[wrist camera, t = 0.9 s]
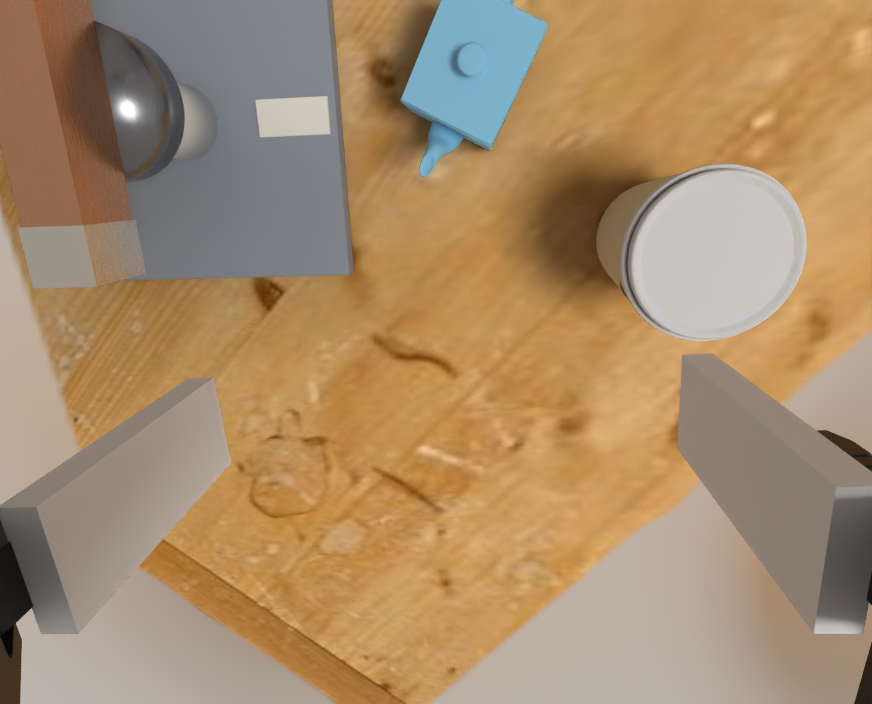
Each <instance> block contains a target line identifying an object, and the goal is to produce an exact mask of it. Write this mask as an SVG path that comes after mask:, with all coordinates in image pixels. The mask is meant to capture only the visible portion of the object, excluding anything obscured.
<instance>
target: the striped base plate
mask: <svg viewBox="0 0 872 704" xmlns="http://www.w3.org/2000/svg"><path fill="white" fill-rule="evenodd" d="M91 4H92V10H93V15H94V20H95V21H97V22H99V23H102V24H104V25H106V26H109V27H111V28H114V29H116V30H118V31H121V32H123V33H125V34H128V35H130V36H132V37H134V38H136V39H138V40H140V41H142V42H143V43H145V44H146V45H148V46H149V47H150V48H151V49H153V50H154V51H155V52H156V53H157V54H158V55H159V56H160V57H161V58H162V59H163V61H164V62H165V63H166V65H167V66H168V67H169V69H170V71H171V72H172V74H173V76H174V78H175V80H176V82H177V84H178V87H179V90H180V93H181V95H182V100H183V105H184V114H185V125H184V132H183V137H182V141H181V144H180V146H179V149H178V151H177V153H176V155H175V156H174V158H173V159H172V161H171V162H170V163H169V164H168V165H167V166H166V167H165V168H164V169H163V170H162V171H161V172H159V173H157V174H156V175H154V176H152V177H150V178H147V179H144V180H140V181H133V182H126V187H127V192H128V197H129V202H130V208H131V213H132V218H133V220H136V224H137V229H138V235H139V240H140V245H141V250H142V256H143V261H144V266H145V271H146V274H143V275H140V276H136V277H132V278H128V279H125V280H158V279H200V278H242V277H284V276H326V275H350V274H352V273H353V272H354V267H353V255H352V242H351V229H350V217H349V204H348V192H347V179H346V166H345V154H344V141H343V129H342V116H341V103H340V91H339V78H338V66H337V53H336V40H335V28H334V15H333V3H332V0H91Z"/></svg>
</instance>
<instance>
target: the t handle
mask: <svg viewBox="0 0 872 704" xmlns="http://www.w3.org/2000/svg"><path fill="white" fill-rule="evenodd" d="M184 125H185V114H184V105H183V100H182V95H181V93H180V90H179V87H178V84H177V82H176V80H175V78H174V76H173V74H172V72H171V71H170V69H169V67H168V66H167V65H166V63H165V62H164V61H163V59H162V58H161V57H160V56H159V55H158V54H157V53H156V52H155V51H154V50H153V49H151V48H150V47H149V46H148V45H146V44H145V43H143V42H142V41H140V40H138V39H136V38H134V37H132V36H130V35H128V34H125V33H123V32H121V31H118V30H116V29H114V28H111V27H109V26H106V25H104V24H102V23H99V22H97V21H95V20H94V15H93V10H92V4H91V0H0V145H1V149H2V153H3V157H4V161H5V165H6V169H7V173H8V177H9V181H10V185H11V189H12V193H13V197H14V201H15V205H16V209H17V213H18V217H19V221H20V225H21V227H18V231H19V235H20V239H21V243H22V247H23V251H24V255H25V259H26V263H27V267H28V271H29V275H30V278H31V282H32V286H33V288H72V287H98V286H102V285H106V284H110V283H113V282H117V281H121V280H125V279H128V278H132V277H136V276H140V275H143V274H146V271H145V266H144V261H143V256H142V250H141V245H140V240H139V235H138V229H137V224H136V220H133V218H132V213H131V208H130V202H129V197H128V192H127V187H126V182H133V181H140V180H144V179H147V178H150V177H152V176H154V175H156V174H157V173H159V172H161V171H162V170H163V169H164V168H165V167H166V166H167V165H168V164H169V163H170V162H171V161H172V159H173V158H174V156H175V155H176V153H177V151H178V149H179V146H180V144H181V141H182V137H183V132H184Z"/></svg>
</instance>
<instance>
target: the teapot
mask: <svg viewBox="0 0 872 704" xmlns="http://www.w3.org/2000/svg"><path fill="white" fill-rule="evenodd" d="M513 2H514V0H441V2H440V4H439V7H438V9H437V12H436V14H435V17H434V19H433V21H432V24H431V26H430V29H429V31H428V34H427V36H426V39H425V41H424V43H423V46H422V48H421V51H420V53H419V56H418V58H417V61H416V63H415V65H414V68H413V70H412V73H411V75H410V78H409V80H408V82H407V85H406V87H405V90H404V92H403V95H402V97H401V100H400V101H401V102H402V103H403V104H404V105H405V106H406V107H407V108H408V109H409V110H410V111H411V112H412V113H414V114H416V115H418V116H420V117H422V118H424V119H426V120H428V121H430V122H432V124H431V127H430V130H429V134H428V144H427V149H426V152H425V154H424V156H423V158H422V161H421V164H420V169H419V173H420V176H421V177H426V176H428V175H429V174H430V173H431V171H432V170H433V169H434V167H435V165H436V163H437V161H438V160H439V159H440V158H441V157H442V156H444V155H446V154H448V153H450V152H452V151H454V150H455V149H456V148H457V147H458V146H459V144H460V143H461V142H462V140H463V139H466V140H468V141H470V142H472V143H474V144H476V145H478V146H480V147H482V148H484V149H486V150H488V151H490V150H491V148H492V146H493V144H494V142H495V140H496V138H497V135H498V133H499V131H500V129H501V127H502V125H503V123H504V121H505V119H506V116H507V114H508V112H509V110H510V108H511V106H512V104H513V102H514V100H515V97H516V95H517V93H518V91H519V89H520V87H521V85H522V83H523V80H524V78H525V76H526V74H527V72H528V70H529V68H530V66H531V63H532V61H533V59H534V57H535V55H536V53H537V51H538V49H539V46H540V44H541V42H542V39H543V37H544V35H545V32H546V30H547V28H548V25H549V24H547V23H545V22H543V21H542V20H540V19H538V18H536V17H534V16H532V15H530V14H528V13H526V12H524V11H522V10H520V9H519V8H517V7H515V6H513Z"/></svg>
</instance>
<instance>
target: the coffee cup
mask: <svg viewBox="0 0 872 704" xmlns="http://www.w3.org/2000/svg"><path fill="white" fill-rule="evenodd" d="M806 246H807V240H806V230H805V224H804V221H803V219H802V216H801V213H800V210H799V208H798V206H797V204H796V202H795V201H794V199H793V197H792V196H791V195H790V193H789V192H788V191H787V190H786V189H785V188H784V187H783V186H782V185H781V184H780V183H779V182H778V181H777V180H775V179H774V178H773V177H771V176H769V175H767V174H766V173H764V172H762V171H759V170H757V169H754V168H750V167H747V166H743V165H736V164H711V165H706V166H701V167H697V168H694V169H691V170H688V171H686V172H683V173H681V174H676V175H672V176H668V177H664V178H660V179H657V180H653V181H649V182H645V183H642V184H639V185H636V186H634V187H632V188H630V189H628V190H626V191H625V192H623V193H622V194H620V195H619V196H618V197H617V198H616V199H614V200H613V202H612V203H611V204H610V205H609V206H608V208H607V209H606V211H605V212H604V214H603V216H602V218H601V220H600V223H599V226H598V230H597V236H596V247H597V253H598V257H599V260H600V262H601V264H602V266H603V268H604V269H605V271H606V272H607V274H608V275H609V276H610V278H611V279H612V280H613V281H614V283H615V284H616V285H617V286H618V287H619V289H620V290H621V291H622V292H623V293H624V295H625V296H626V297H627V298H628V299H629V301H630V302H631V304H632V306H633V307H634V308H635V310H636V311H637V312H638V314H639V315H640V316H641V317H642V318H643V319H644V320H645V321H646V322H648V323H649V324H650V325H651V326H653V327H654V328H656V329H658V330H659V331H661V332H663V333H665V334H668V335H671V336H673V337H677V338H680V339H685V340H691V341H712V340H719V339H724V338H728V337H731V336H734V335H737V334H740V333H742V332H744V331H746V330H748V329H750V328H752V327H754V326H756V325H758V324H760V323H761V322H763V321H764V320H765V319H767V318H768V317H769V316H770V315H772V314H773V313H774V312H775V311H776V310H777V309H778V308H779V307H780V306H781V305H782V304H783V303H784V301H785V300H786V299H787V298H788V296H789V295H790V293H791V292H792V290H793V289H794V287H795V285H796V283H797V281H798V279H799V277H800V274H801V272H802V268H803V265H804V262H805V256H806Z"/></svg>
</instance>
